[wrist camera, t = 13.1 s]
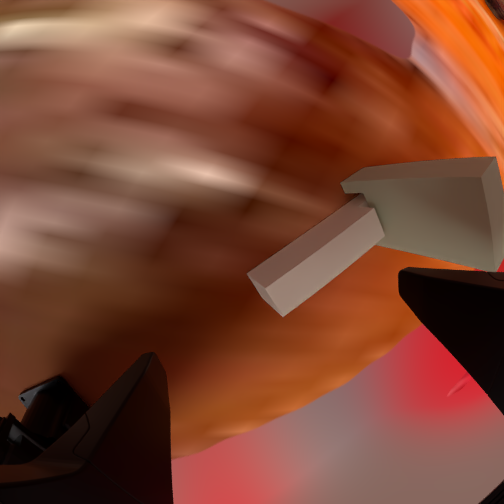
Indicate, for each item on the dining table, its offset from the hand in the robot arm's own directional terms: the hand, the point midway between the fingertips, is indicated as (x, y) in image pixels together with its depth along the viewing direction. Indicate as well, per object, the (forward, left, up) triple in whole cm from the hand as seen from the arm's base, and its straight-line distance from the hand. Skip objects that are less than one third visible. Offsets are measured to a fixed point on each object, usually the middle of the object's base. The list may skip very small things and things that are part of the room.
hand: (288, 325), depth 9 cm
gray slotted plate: (+13, -2, -12) cm, 18 cm away
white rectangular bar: (+10, -2, -12) cm, 16 cm away
